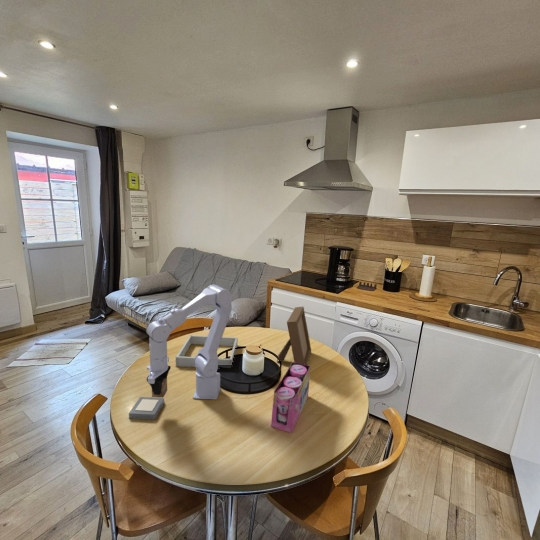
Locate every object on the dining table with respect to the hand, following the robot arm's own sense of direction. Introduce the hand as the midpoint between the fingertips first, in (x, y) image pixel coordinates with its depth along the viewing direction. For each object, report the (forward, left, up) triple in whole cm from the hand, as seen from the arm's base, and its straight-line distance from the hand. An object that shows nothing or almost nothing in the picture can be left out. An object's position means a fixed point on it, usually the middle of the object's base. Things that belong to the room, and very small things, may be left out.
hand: (159, 390), depth 105 cm
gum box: (-48, -4, -9) cm, 49 cm away
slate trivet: (+5, 0, -8) cm, 10 cm away
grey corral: (-9, -43, -8) cm, 44 cm away
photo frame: (-52, -42, -9) cm, 67 cm away
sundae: (-34, -28, -9) cm, 44 cm away
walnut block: (0, 0, -1) cm, 1 cm away
